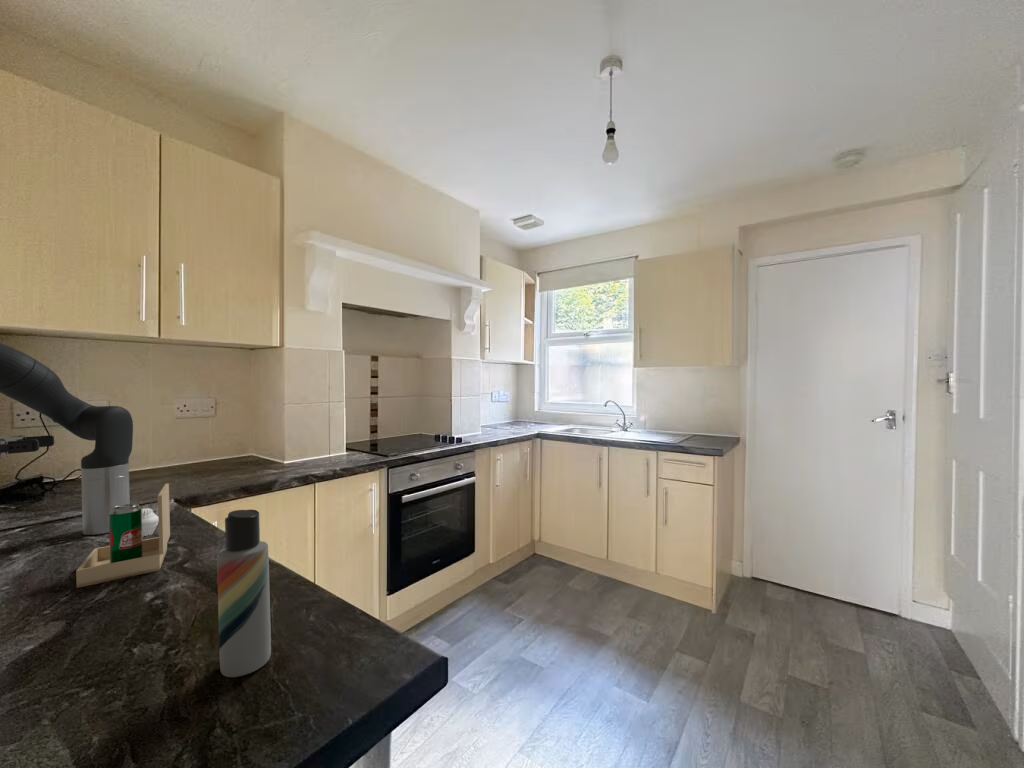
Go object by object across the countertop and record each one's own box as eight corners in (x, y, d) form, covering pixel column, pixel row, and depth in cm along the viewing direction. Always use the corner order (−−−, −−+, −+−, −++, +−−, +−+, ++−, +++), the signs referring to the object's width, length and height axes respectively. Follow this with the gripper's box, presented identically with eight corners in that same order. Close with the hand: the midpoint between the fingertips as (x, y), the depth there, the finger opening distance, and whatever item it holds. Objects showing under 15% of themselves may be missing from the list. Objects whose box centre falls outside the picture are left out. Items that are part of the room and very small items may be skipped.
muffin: (152, 530, 112) (151, 503, 112) (165, 532, 109) (164, 505, 109) (122, 537, 106) (122, 510, 106) (135, 541, 103) (134, 512, 103)
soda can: (122, 569, 85) (121, 510, 85) (103, 567, 86) (102, 509, 86) (148, 559, 90) (147, 503, 90) (130, 558, 91) (129, 502, 91)
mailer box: (95, 563, 90) (93, 492, 90) (170, 548, 97) (168, 483, 97) (76, 587, 79) (74, 506, 79) (163, 569, 86) (161, 495, 86)
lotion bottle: (235, 651, 58) (232, 506, 58) (279, 648, 58) (275, 504, 58) (209, 680, 52) (205, 519, 52) (257, 676, 52) (253, 516, 53)
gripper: (-119, 435, 66) (32, 426, 76) (-68, 428, 78) (57, 421, 87) (-117, 482, 67) (34, 467, 76) (-66, 468, 78) (59, 457, 87)
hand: (46, 442), depth 82 cm, fingers open, 8 cm apart
